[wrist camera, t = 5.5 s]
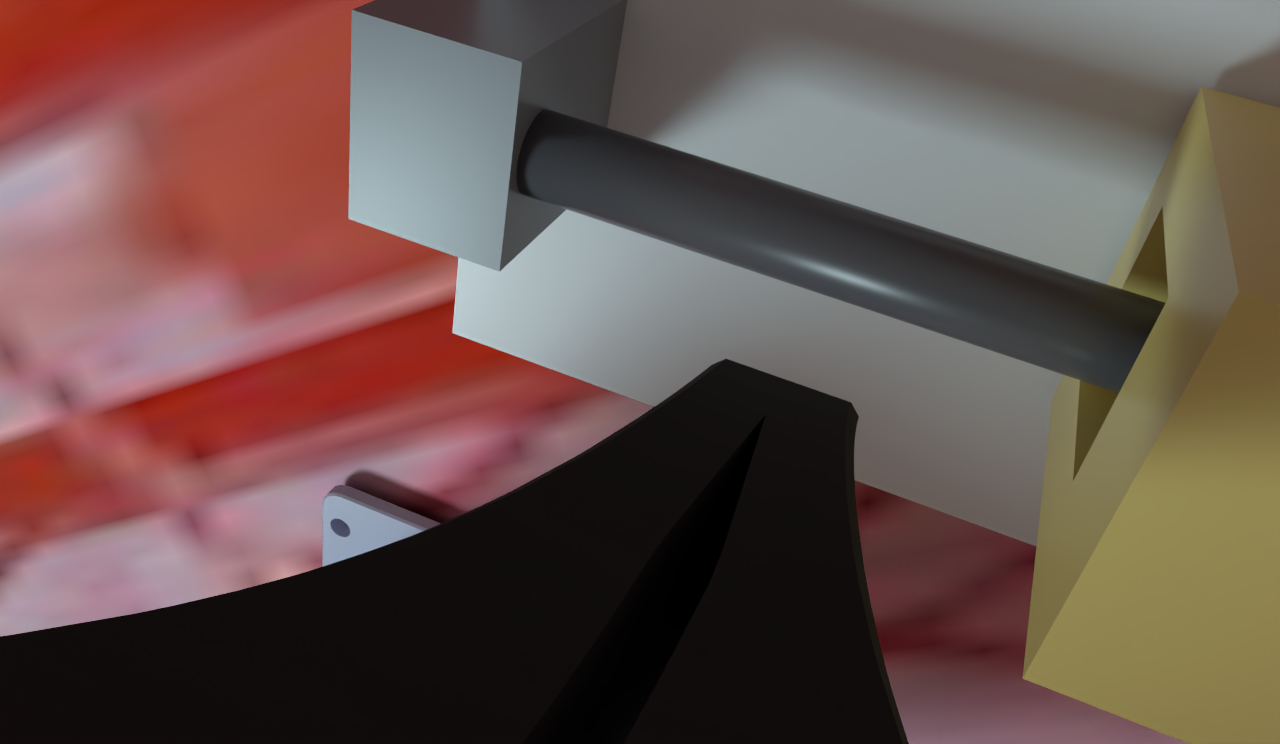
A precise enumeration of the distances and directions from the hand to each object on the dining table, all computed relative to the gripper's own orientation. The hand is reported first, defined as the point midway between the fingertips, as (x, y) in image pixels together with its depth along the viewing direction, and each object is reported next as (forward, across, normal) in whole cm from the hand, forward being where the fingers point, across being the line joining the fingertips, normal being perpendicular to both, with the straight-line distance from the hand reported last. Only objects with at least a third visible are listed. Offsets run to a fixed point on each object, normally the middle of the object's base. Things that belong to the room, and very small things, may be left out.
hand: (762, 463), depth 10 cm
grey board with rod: (+8, -2, 0) cm, 8 cm away
